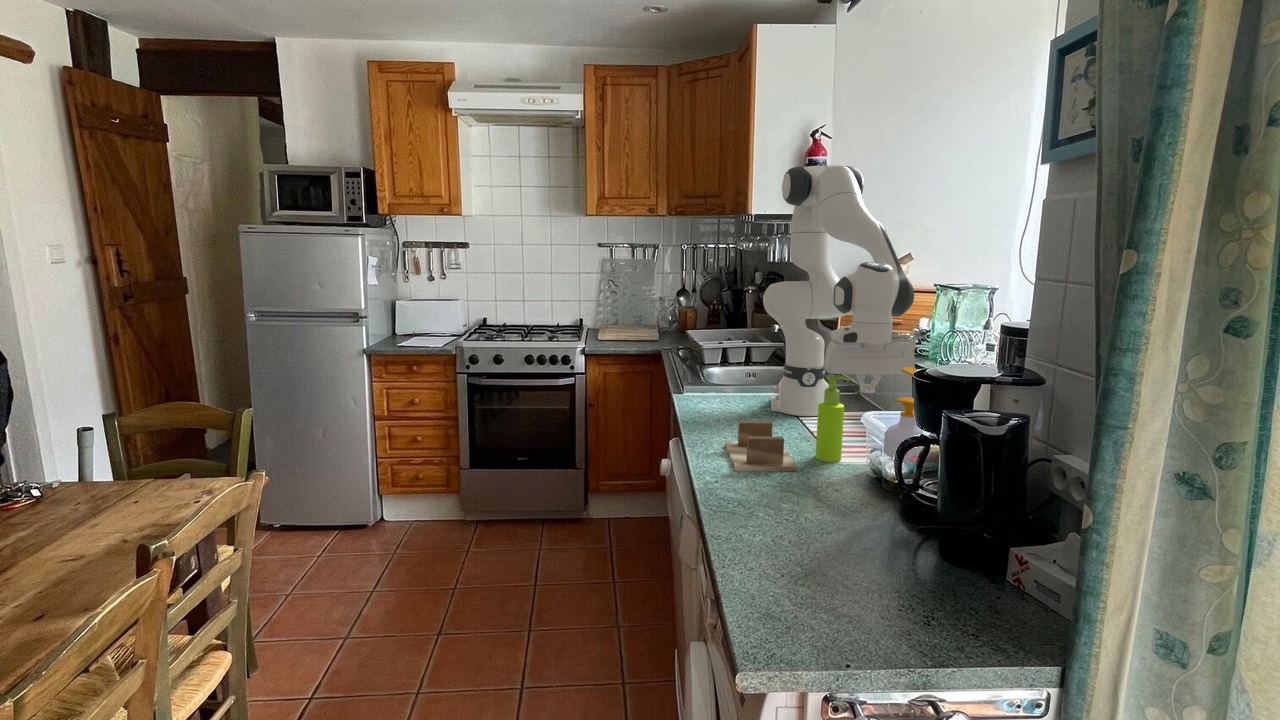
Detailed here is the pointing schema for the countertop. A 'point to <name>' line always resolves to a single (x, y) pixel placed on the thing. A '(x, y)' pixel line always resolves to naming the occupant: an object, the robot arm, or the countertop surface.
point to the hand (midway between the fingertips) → (867, 392)
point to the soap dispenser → (830, 423)
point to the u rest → (759, 449)
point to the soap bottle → (903, 426)
